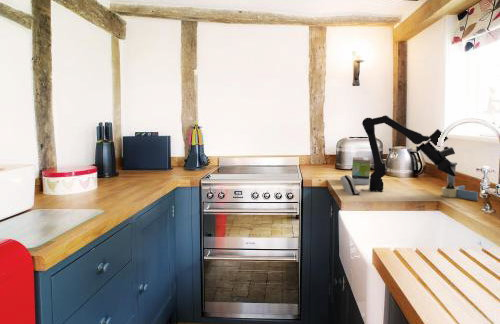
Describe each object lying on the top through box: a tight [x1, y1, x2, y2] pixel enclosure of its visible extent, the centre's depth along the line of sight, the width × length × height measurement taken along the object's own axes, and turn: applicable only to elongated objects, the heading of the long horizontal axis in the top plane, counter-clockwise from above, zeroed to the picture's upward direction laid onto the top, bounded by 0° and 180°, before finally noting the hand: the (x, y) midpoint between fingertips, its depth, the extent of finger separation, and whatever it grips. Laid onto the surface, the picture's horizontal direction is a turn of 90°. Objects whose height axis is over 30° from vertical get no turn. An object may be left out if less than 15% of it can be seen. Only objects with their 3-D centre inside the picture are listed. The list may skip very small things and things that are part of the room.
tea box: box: [351, 156, 371, 186], centre depth 223 cm, size 15×10×15 cm, turn 165°
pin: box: [446, 161, 458, 189], centre depth 185 cm, size 4×4×13 cm
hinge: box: [339, 174, 361, 196], centre depth 195 cm, size 17×5×10 cm, turn 178°
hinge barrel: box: [441, 184, 479, 202], centre depth 186 cm, size 13×19×4 cm
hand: (454, 175), depth 185 cm, fingers closed on pin, 3 cm apart
